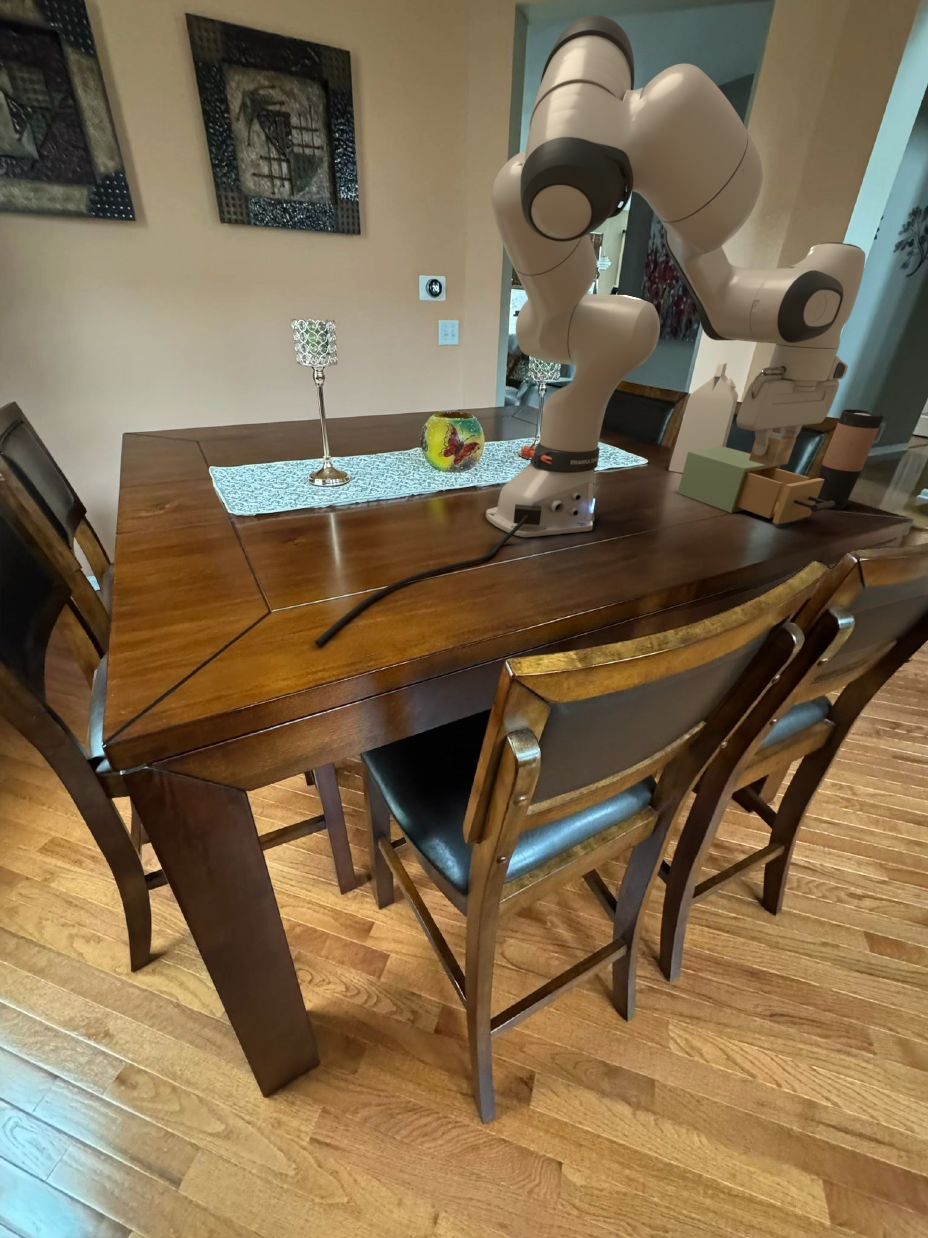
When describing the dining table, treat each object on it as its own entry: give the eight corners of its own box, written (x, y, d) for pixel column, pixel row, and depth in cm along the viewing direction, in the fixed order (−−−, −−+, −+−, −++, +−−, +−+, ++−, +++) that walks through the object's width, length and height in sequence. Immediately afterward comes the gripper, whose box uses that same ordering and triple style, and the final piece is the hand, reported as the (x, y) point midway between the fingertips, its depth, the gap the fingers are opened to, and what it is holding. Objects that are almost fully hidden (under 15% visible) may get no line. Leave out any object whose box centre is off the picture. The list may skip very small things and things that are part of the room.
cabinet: (766, 504, 121) (781, 462, 116) (731, 512, 115) (744, 468, 110) (712, 486, 132) (724, 446, 127) (677, 492, 126) (687, 451, 121)
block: (771, 466, 92) (780, 439, 90) (748, 460, 95) (756, 434, 93) (787, 464, 94) (796, 437, 92) (764, 457, 97) (772, 432, 95)
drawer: (833, 523, 109) (849, 486, 105) (800, 532, 104) (816, 493, 100) (753, 496, 123) (764, 462, 119) (720, 503, 118) (731, 468, 113)
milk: (677, 460, 151) (701, 359, 138) (720, 467, 147) (750, 363, 133) (668, 470, 142) (693, 362, 129) (713, 478, 138) (745, 367, 124)
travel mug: (809, 506, 121) (846, 413, 110) (805, 496, 127) (839, 407, 117) (848, 512, 119) (889, 417, 108) (842, 501, 125) (879, 411, 114)
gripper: (778, 370, 80) (748, 463, 87) (854, 367, 89) (822, 451, 96) (741, 365, 84) (716, 453, 92) (817, 362, 93) (789, 443, 100)
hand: (771, 452), depth 94 cm, fingers closed on block, 4 cm apart
